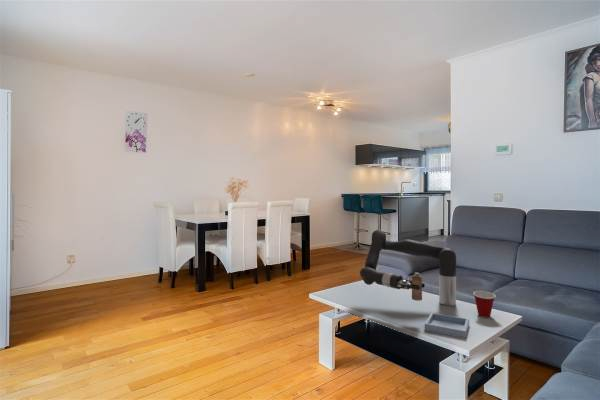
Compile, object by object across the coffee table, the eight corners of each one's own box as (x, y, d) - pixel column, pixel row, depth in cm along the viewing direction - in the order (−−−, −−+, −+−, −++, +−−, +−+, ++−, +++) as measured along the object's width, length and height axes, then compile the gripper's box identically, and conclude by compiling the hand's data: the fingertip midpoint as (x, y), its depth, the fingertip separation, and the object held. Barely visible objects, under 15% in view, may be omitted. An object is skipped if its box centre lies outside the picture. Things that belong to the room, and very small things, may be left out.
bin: (431, 318, 178) (431, 312, 178) (469, 325, 169) (469, 318, 169) (424, 330, 163) (424, 323, 163) (465, 338, 154) (465, 331, 154)
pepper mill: (413, 297, 179) (413, 271, 179) (422, 298, 176) (422, 272, 176) (410, 299, 175) (410, 273, 174) (420, 301, 172) (420, 274, 172)
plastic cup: (474, 317, 179) (474, 295, 179) (471, 311, 189) (471, 290, 189) (497, 320, 175) (497, 297, 175) (493, 313, 186) (493, 291, 185)
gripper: (399, 285, 191) (428, 291, 178) (385, 290, 181) (415, 296, 168) (399, 271, 190) (428, 277, 178) (385, 276, 180) (415, 282, 168)
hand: (421, 286), depth 173 cm, fingers closed on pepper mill, 5 cm apart
